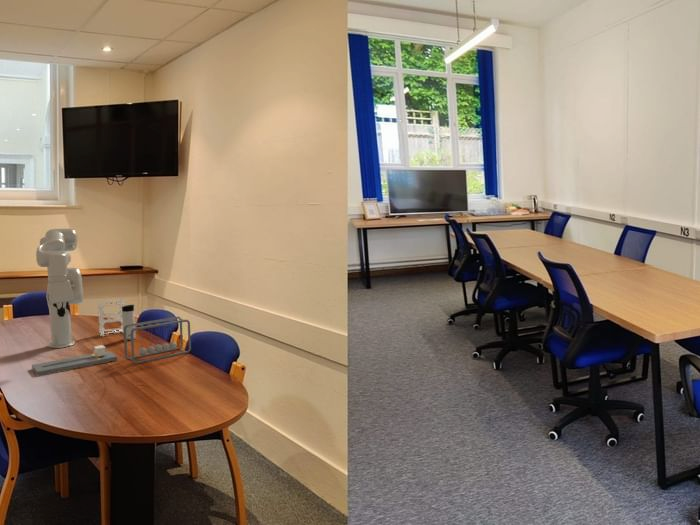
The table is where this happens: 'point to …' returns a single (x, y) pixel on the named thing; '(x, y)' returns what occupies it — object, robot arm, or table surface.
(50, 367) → the board
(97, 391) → the table surface
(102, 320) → the film strip holder
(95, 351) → the fader tab
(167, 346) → the newton's cradle
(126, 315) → the travel mug
